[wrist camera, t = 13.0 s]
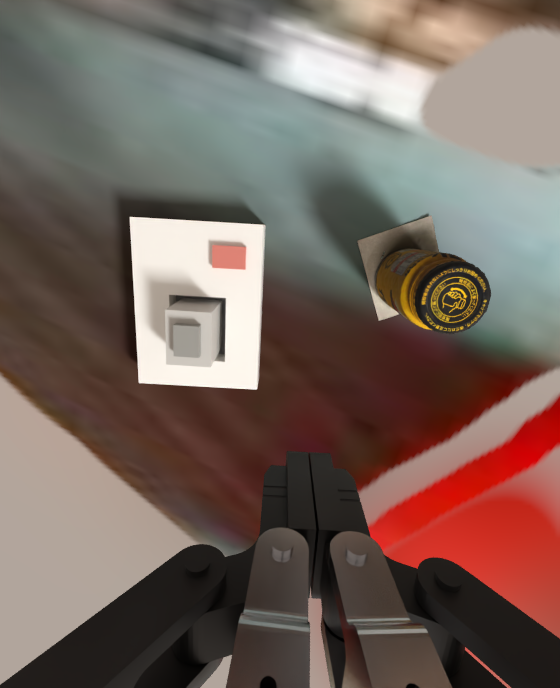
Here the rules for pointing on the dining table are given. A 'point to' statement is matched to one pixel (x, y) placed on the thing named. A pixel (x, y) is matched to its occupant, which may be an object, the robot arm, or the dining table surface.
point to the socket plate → (198, 295)
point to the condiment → (423, 279)
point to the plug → (193, 332)
